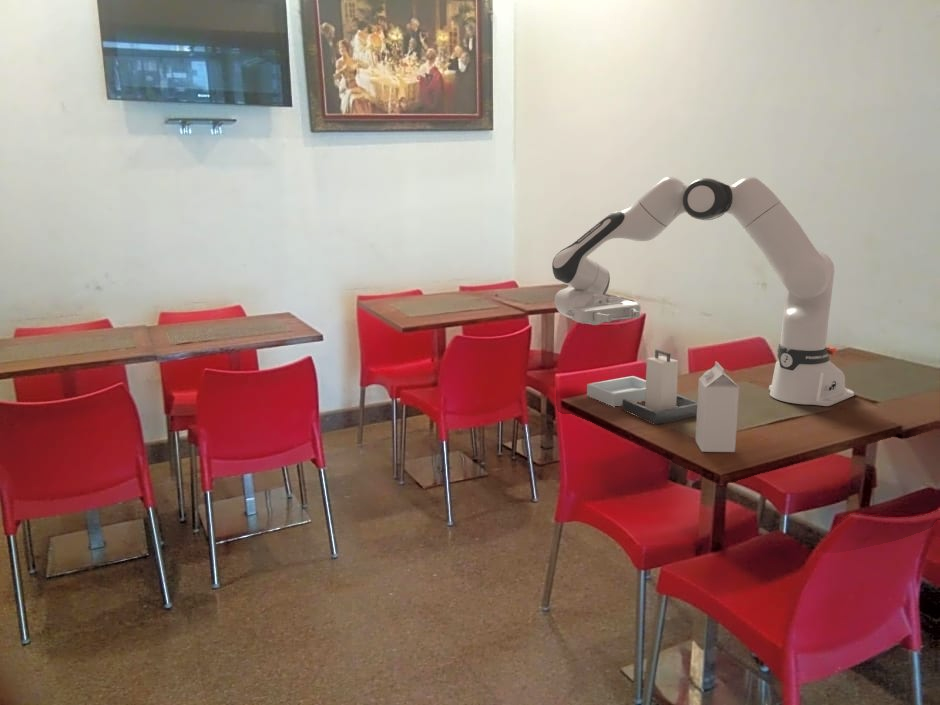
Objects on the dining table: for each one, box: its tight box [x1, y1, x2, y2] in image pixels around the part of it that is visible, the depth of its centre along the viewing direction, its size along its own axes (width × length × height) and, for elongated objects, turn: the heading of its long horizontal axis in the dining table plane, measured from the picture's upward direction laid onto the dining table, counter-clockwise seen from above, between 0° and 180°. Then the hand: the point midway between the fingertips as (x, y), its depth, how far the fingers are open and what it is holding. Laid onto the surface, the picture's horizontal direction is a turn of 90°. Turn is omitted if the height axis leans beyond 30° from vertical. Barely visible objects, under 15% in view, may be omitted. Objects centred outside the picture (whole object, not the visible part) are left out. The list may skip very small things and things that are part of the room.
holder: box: [621, 393, 698, 425], centre depth 185 cm, size 15×13×3 cm
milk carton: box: [695, 360, 740, 453], centre depth 159 cm, size 7×7×19 cm
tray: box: [586, 375, 646, 408], centre depth 198 cm, size 16×12×4 cm
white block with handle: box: [644, 349, 679, 411], centre depth 184 cm, size 5×6×16 cm
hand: (623, 316), depth 194 cm, fingers open, 8 cm apart
